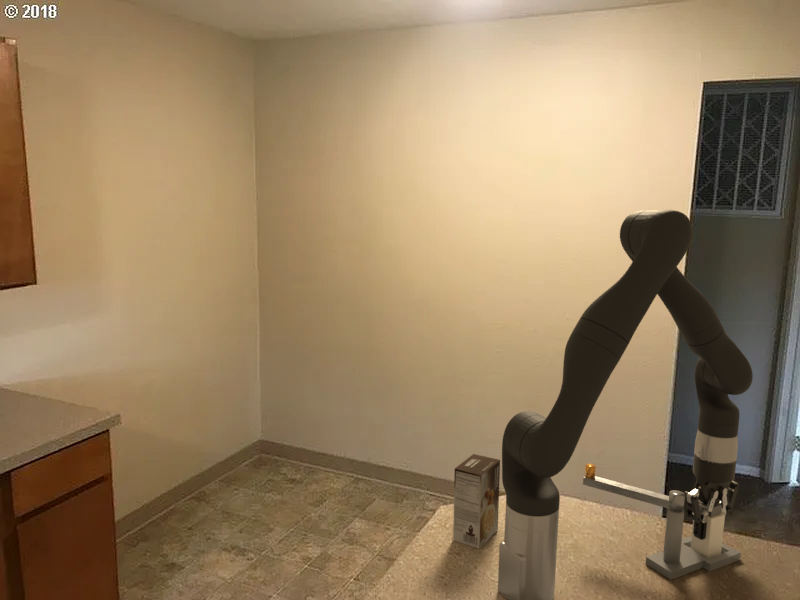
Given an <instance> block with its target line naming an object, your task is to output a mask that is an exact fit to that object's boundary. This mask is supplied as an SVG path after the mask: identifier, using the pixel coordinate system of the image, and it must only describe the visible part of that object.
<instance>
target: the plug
mask: <svg viewBox="0 0 800 600" xmlns="http://www.w3.org/2000/svg"><path fill="white" fill-rule="evenodd" d="M700 502H701V501H700ZM701 504H703V505H705V506H707V504H705V503H702V502H701ZM721 511H722V504H720V503H715V504H714V506H713V509H712V512H709V514H708V518H707V521H706V522H707V527H706V537H705V539H703V540H701V539H699V538H697V537H695V536H694V534H693V530H694V520H693V519H692V529H691V535H692V538H691V548H692V549H693V550H695V551H697V552H699V553H700V554H702V555H704V556H706V557H707V558H711V557H714V556H717V555H719V554H721V549H722V543H723V540H724V539H723V538H724V531H725V530H724V529H725V522H726V521H725V520H726V519H725V518H726V515H725V514H723V513H721ZM700 514H701V515H702V514H703V510H702V509H700Z"/></svg>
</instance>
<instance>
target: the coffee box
mask: <svg viewBox="0 0 800 600" xmlns="http://www.w3.org/2000/svg"><path fill="white" fill-rule="evenodd" d="M500 468H501V459H499V458H493V457H489V456H485V455H481V454H475V453H473V454H472V455H470V456H469V457H468V458H466V459H465V460H463V462H461V463H459V464H458V465H457V466H456V467H455V468H454V475H453V477H454V479H453V481H454V484H453V485H454V486H453V490H454V492H453V532H452V533H453V535H452V537H453V538H452V540H453V541H454V542H457V543H460V544H464V545H467V546H470V547H473V548H477V549H479V550H480V549H481V548H482V547H483V546H484V545H485V544H486V543H487V542H488V541H489V540H490V539H491V538H492V537H493V535H494V534H495V533H496V532H497V531H498V529H499V507H500V506H499V504H500V502H499V500H500V479H501V478H500V475H501V474H500V472H501V469H500Z"/></svg>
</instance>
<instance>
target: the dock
mask: <svg viewBox="0 0 800 600" xmlns="http://www.w3.org/2000/svg"><path fill="white" fill-rule="evenodd" d="M684 518H685V510H684V511H682V512H675V511H672V510H670V509H668V508H666V519H665V520H666V521H665V531H664V532H665V533H664V541H663V550H662V551H658V552H656V553H653V554H651V555H647V556H645V565H647V566H648V567H650V568H652V569H653V570H655V571H656V572H658V573H659V574H661V575H662V576H664V577H666V578H667V579H669V580H674V579H676V578H680V577H681V576H685V575H687V574H691V573H692V572H695V571H698V570H700V569H705V570H707V571H708V572H712V571H714V570H717V569H719V568H723V567H724V566H727V565H729V564H732V563H735V562H737V561H740V560H741V556H742V552H741V551H739V550H737V549H736V548H733V547H732V546H730V545H727V544H726V543H724V542H722V549H721V554H719V555H717V556H714V557H711V558H707V557H706V556H704V555H702V554H700V553H699V552H697V551H695V550H693V549H692V548H690V547H691V538H692V534H691V535H688V536H685V537H683V529H684V520H685V519H684Z"/></svg>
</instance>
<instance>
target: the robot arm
mask: <svg viewBox="0 0 800 600" xmlns="http://www.w3.org/2000/svg"><path fill="white" fill-rule="evenodd" d="M692 236H693V225H692V222H691V220H690V218H689V217H688V216H687V215H686V214H685V213H683V212H681V211H679V210H673V209H644V210H643V209H642V210H637V211H634V212H632V213H630V214H629V215H627V216H625V218H624V220H623V222H622V224H621V226H620V229H619V239H620V240H619V241H620V244H621V246H622V249H623V250H624V252H625V254H626V255H627V256H628V258H629V259H630V260H631V264H630V265H629V267H628V268H627V270H626V271H625V273H623V275H622V276H621V277H620V278H619V279H618V280H617V281H616V282H615V283H614V284H613V285H612V286H610V287H609V288H608V289H607V290H606V291H604V292H603V293H602V294H601V295H599V296H598V297H597V298H596V299H595V300H594V301H592V302H591V304H589V306H588V307H587V308H585V310H584V311H583V313H582V315H581V316H580V317H579V319H578V321H577V323H576V325H575V326H574V328H573V330H572V332H571V334H570V335H569V338H568V339H567V342H566V345H565V348H564V354H563V355H564V356H563V365H562V367H563V369H562V383H561V387H560V391H559V393H558V396H557V399H556V400H555V402H554V404H553V406H552V408H551V410H550V411H549V413H548V415H547V417H545V416H543V415H541V414H539V413H538V412H537V413H536V412H534V411H531V410H528V411H521V412H518V413H516V414H515V415H514V416H513V417H512V418H511V419H510V420H509V421H508V422H507V424H506V426H505V428H504V431H503V434H502V435H503V436H502V442H501V443H502V444H501V477H502V478H501V479H502V485H503V489H504V492H505V516H504V517H505V518H504V519H505V520H504V539H503V540H504V541H502V542H499V546H498V547H499V552H498V554H499V555H498V571H497V572H498V574H497V575H498V576H497V577H498V578H497V591H498V592H499V593H500V594H501V595H502V596H503V597H505V599H507V600H554V599H555V598H554V597H555V587H556V569H557V553H558V551H557V549H558V537H559V534H558V532H559V519H560V518H559V516H560V503H561V502H560V501H561V500H560V491H559V489H558V487H557V486H556V484H555V482H554V481H553V480H552V478H553V477H554V476H556V475H558V474H559V473H560V472H561V471H562V470H564V468H565V467H566V466H567V464H568V463H569V461H570V459H571V457H572V456H573V454H574V453H575V450H576V448H577V445H578V443H579V441H580V438H581V437H582V435H583V431H584V430H585V426H586V424H587V423H588V420H589V418H590V416H591V413H592V411H593V410H594V407H595V404H596V403H597V402H598V399H599V398H600V396H601V393H602V392H603V390H604V388H605V386H606V384H607V382H608V381H609V379H610V377H611V375H612V373H613V372H614V370H615V369H616V367H617V366H618V364H619V362H620V360H621V358H622V357H623V355H624V353H625V351H626V350H627V348H628V346H629V344H630V342H631V340H632V338H633V336H634V334H635V333H636V331H637V329H638V327H639V325H640V323H641V322H642V320H643V319H644V318H645V315H646V314H647V312H648V311H649V309H650V307H651V305H652V304H653V302H654V301H655V299H656V297H657V296H658V297H659V299H660V300H661V302H662V303H663V305H664V306H665V308H666V309H667V311H668V313H669V314H670V316H671V318H672V319H673V321H674V323H675V325H676V326H677V328H678V330H679V333H680V334H681V336H682V339H683V340H684V341H685V344H686V346H687V347H688V349H689V350H690V351H691V352H692V354H695V355H696V356H697V357H699V358H698V359H697V362H696V363H695V368H694V383H695V389H696V395H697V400H698V401H697V402H698V404H699V405H698V406H699V414H698V423H697V432H696V436H695V441H694V452H693V459H692V460H693V462H692V473H693V475H694V476H695V478H696V481H695V483H694V487H693V489H692V490H691V491H690V492H689V491H688V490H686V491H684V492H683V493H684V494H685V503H684V510H685V515H686V517H687V518H688V519H691V520H692V521H693V520H694V530H693V534H694V536H695V537H697V538H699V539H701V540H703V539H705V537H706V527H707V522H706V521H707V518H708V514H709V512H712V509H713V506H714V504H715V503H720V504H722V511H721V513H723V514H725V516H726V515H727V512H732V511H733V508H734V504H735V501H736V498H737V495H738V491H739V488H740V483H738V482H737V481H734V480H735V479H736V469H737V467H736V466H737V455H738V448H739V442H738V437H739V436H738V434H739V423H740V409H739V407H738V406H737V404H735V403H734V402H733V401H732V400H731V399H730V398H729V395H731V396H737V395H742V394H744V393H746V392H747V391H748V390H749V389H750V387H751V385H752V382H753V376H754V375H753V370H752V366H751V364H750V361H748V359H747V357H746V356H745V354H744V353H743V352H742V350H741V349H739V347H738V346H737V344H736V343H735V342H734V341H733V339H731V338H730V337H729V336H728V335H727V333H726V331H725V329H724V326H723V325H722V323H721V321H720V318H719V317H718V314H717V313H716V311H715V309H714V307H713V306H712V304H711V303H710V302H709V301H708V299H707V298H706V297H705V296H704V294H702V292H700V290H699V289H698V288H697V287H695V286H694V284H693V283H691V281H689V279H688V278H686V276H685V275H684V274H683V273H682V271H681V270H680V269H679V268H678V265H679V264H680V263H681V261H682V259H683V258H684V257H685V255H686V253H687V252H688V249H689V247H690V245H691V242H692V238H693V237H692ZM700 501H701V502H702V503H705V504H707V506H705V505H703V504H701V502H700ZM700 509H702V510H703V514H702V515H701V514H700Z"/></svg>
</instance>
